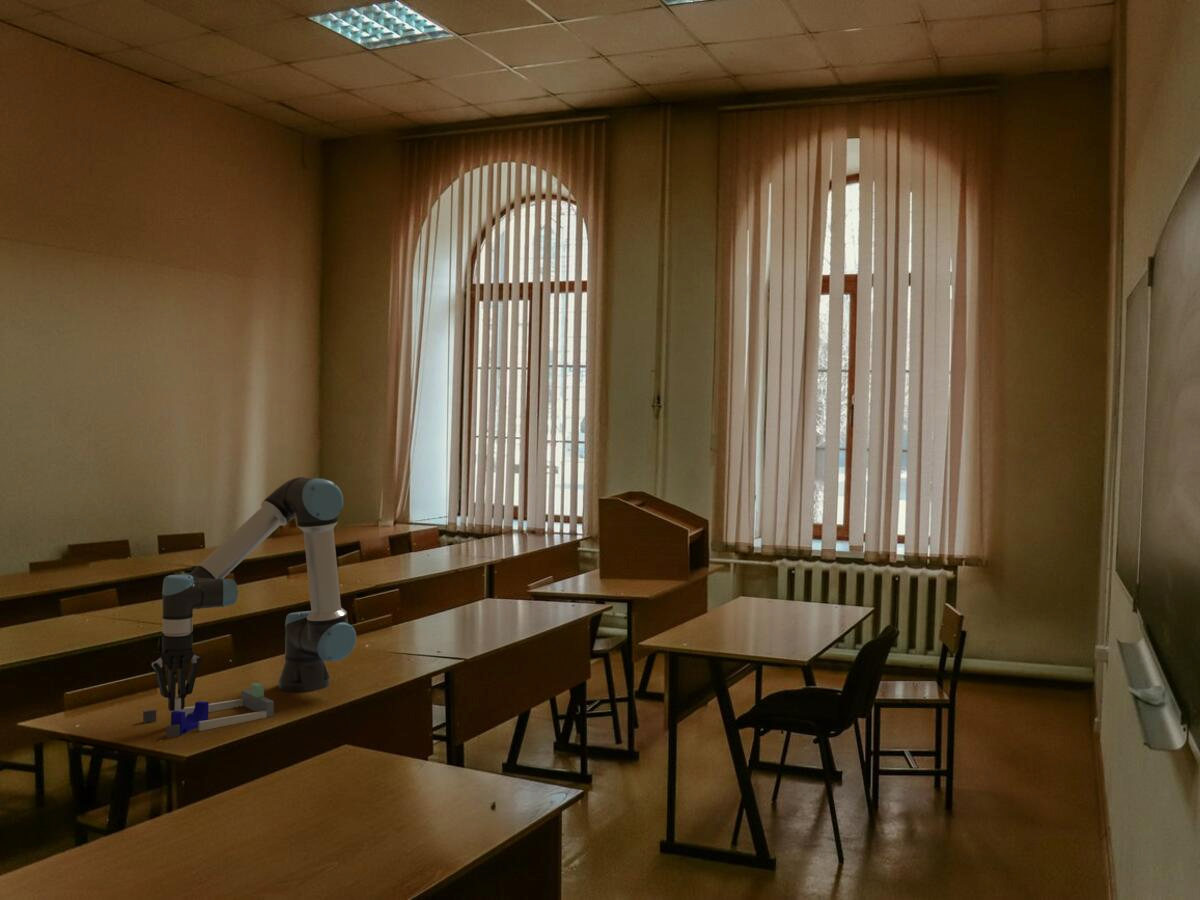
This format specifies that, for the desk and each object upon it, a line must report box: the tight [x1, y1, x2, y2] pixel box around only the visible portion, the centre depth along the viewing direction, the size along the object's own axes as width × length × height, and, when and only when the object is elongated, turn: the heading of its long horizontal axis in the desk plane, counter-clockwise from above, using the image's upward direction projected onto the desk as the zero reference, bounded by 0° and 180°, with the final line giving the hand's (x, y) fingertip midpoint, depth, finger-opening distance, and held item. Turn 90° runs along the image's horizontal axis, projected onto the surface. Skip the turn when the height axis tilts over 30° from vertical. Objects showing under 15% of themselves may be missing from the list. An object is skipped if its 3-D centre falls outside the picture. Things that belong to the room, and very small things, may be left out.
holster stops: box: [142, 709, 181, 740], centre depth 270 cm, size 3×20×3 cm, turn 41°
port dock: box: [181, 682, 275, 732], centre depth 281 cm, size 20×17×8 cm
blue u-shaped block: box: [170, 700, 210, 736], centre depth 271 cm, size 12×4×6 cm, turn 168°
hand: (176, 722), depth 272 cm, fingers closed
